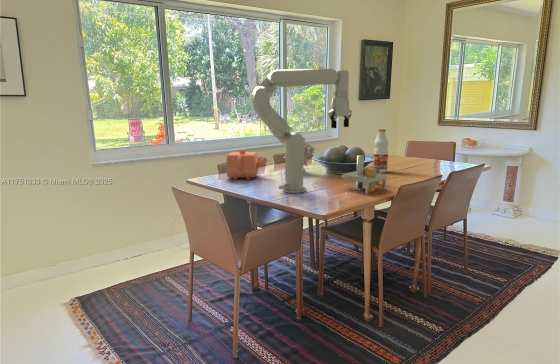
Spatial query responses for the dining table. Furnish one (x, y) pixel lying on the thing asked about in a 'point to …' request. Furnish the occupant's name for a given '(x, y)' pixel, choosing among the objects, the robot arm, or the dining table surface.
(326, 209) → the dining table surface
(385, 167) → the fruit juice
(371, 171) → the mustard rectangular block
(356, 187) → the grey metal piece
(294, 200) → the dining table surface
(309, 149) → the flower
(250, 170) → the teapot
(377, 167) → the bracket
